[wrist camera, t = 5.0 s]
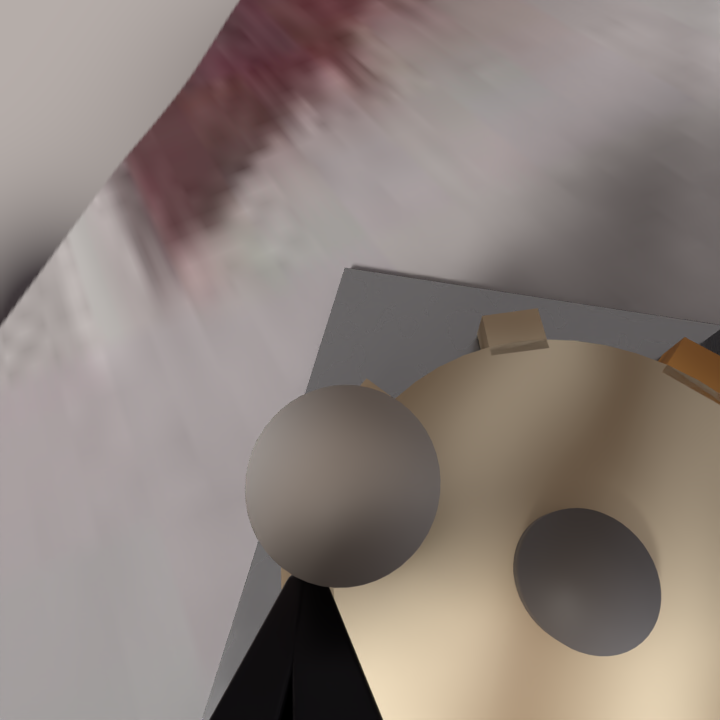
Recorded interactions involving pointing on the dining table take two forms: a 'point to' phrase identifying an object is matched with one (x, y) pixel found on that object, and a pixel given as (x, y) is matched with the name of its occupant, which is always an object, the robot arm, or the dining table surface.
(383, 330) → the bearing plate
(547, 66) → the dining table surface
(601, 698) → the turntable
